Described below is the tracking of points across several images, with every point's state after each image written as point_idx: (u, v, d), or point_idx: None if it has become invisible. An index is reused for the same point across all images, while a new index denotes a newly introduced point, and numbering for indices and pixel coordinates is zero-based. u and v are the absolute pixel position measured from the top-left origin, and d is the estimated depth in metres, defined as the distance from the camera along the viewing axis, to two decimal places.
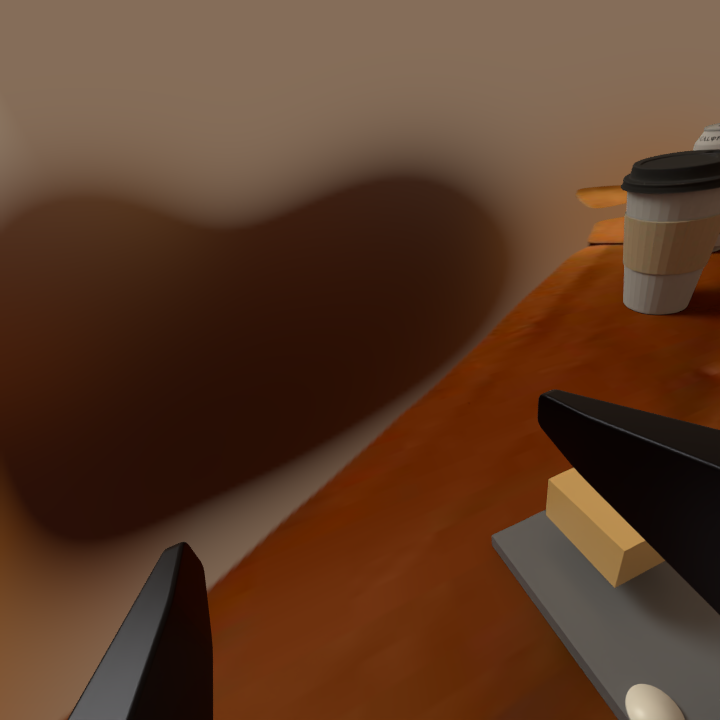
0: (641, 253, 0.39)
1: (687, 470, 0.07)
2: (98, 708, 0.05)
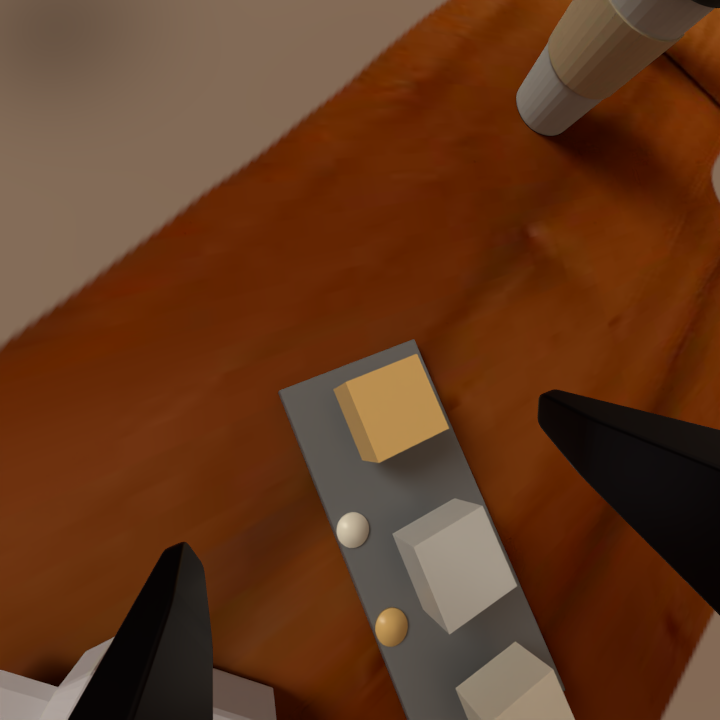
0: (573, 45, 0.29)
1: (687, 470, 0.07)
2: (98, 708, 0.05)
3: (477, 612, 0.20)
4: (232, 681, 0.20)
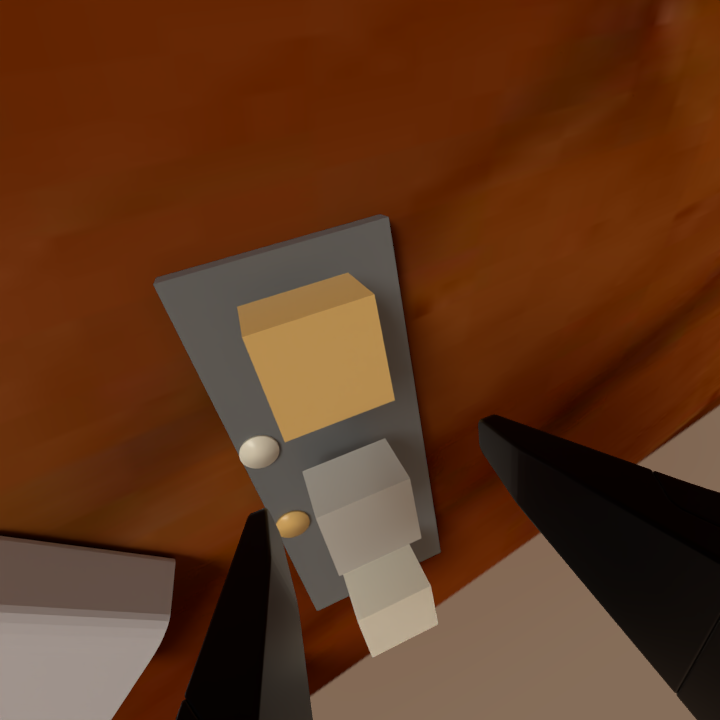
0: None
1: (605, 510, 0.06)
2: (226, 648, 0.06)
3: (373, 557, 0.19)
4: (130, 565, 0.20)
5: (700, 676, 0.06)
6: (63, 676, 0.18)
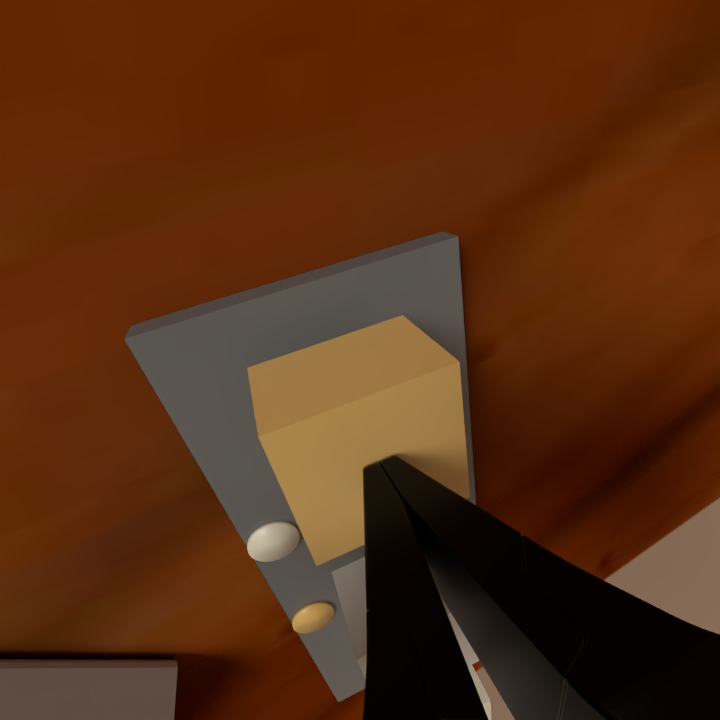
0: None
1: (467, 579, 0.06)
2: (392, 569, 0.06)
3: None
4: (119, 683, 0.16)
5: None
6: None
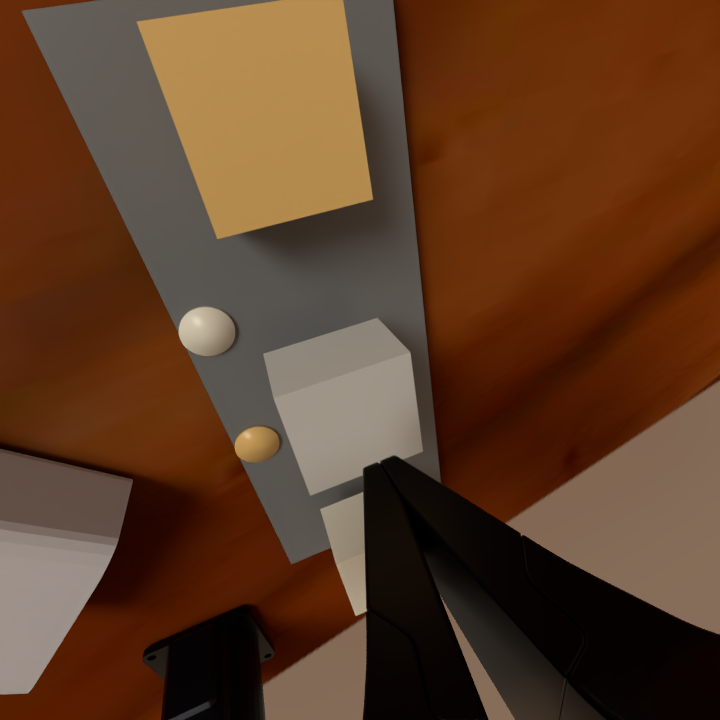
0: None
1: (467, 579, 0.06)
2: (392, 570, 0.06)
3: (357, 474, 0.14)
4: (69, 478, 0.16)
5: None
6: None
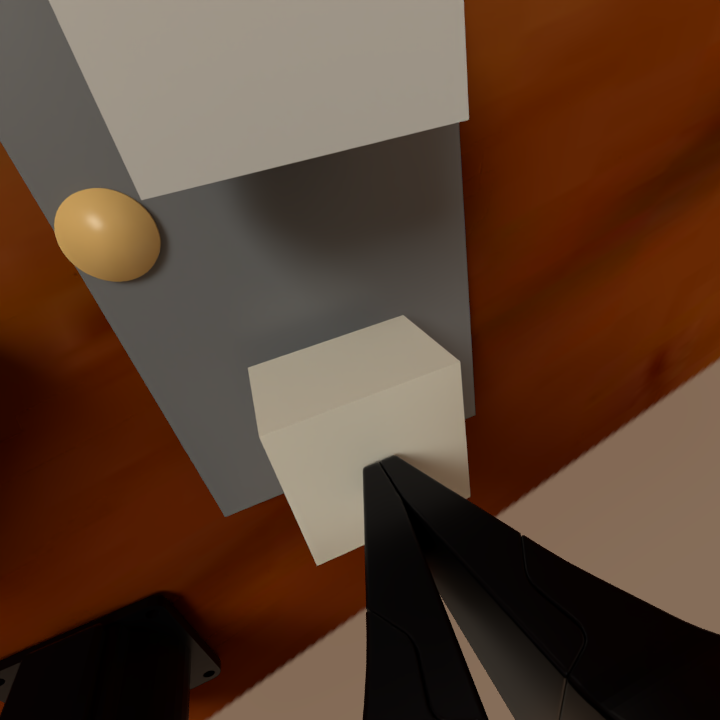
0: None
1: (467, 579, 0.06)
2: (392, 569, 0.06)
3: None
4: None
5: None
6: None
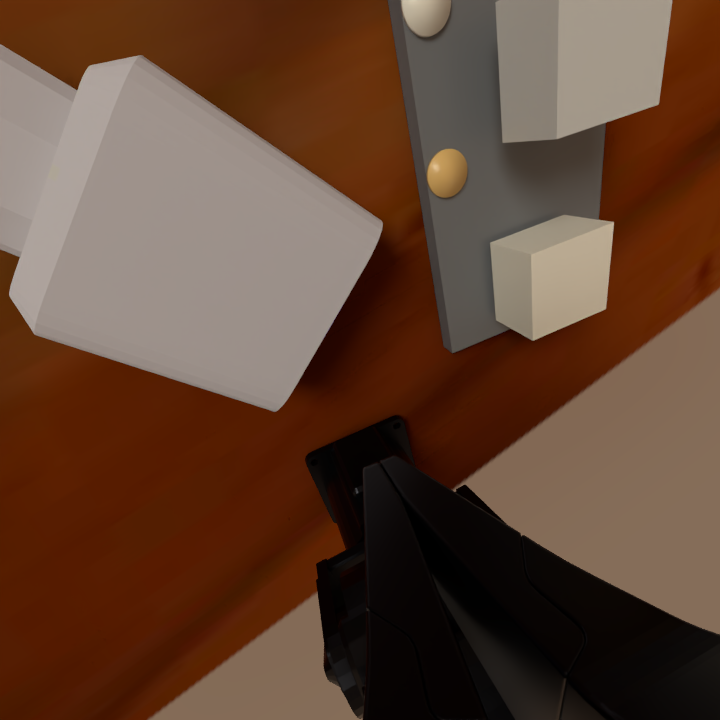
0: None
1: (467, 579, 0.06)
2: (392, 570, 0.06)
3: (596, 125, 0.14)
4: None
5: None
6: (267, 257, 0.13)
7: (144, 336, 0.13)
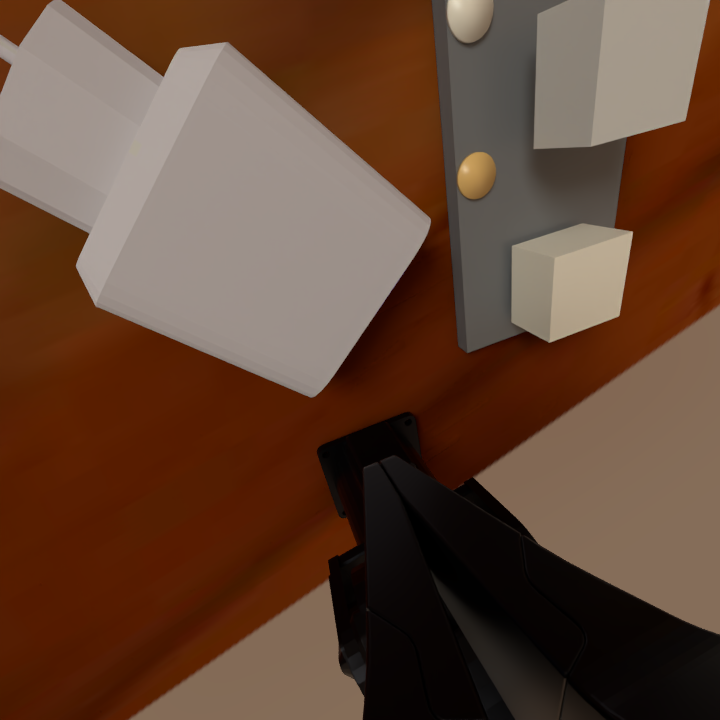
0: None
1: (467, 579, 0.06)
2: (392, 570, 0.06)
3: (627, 135, 0.15)
4: None
5: None
6: (324, 244, 0.14)
7: (201, 313, 0.14)
